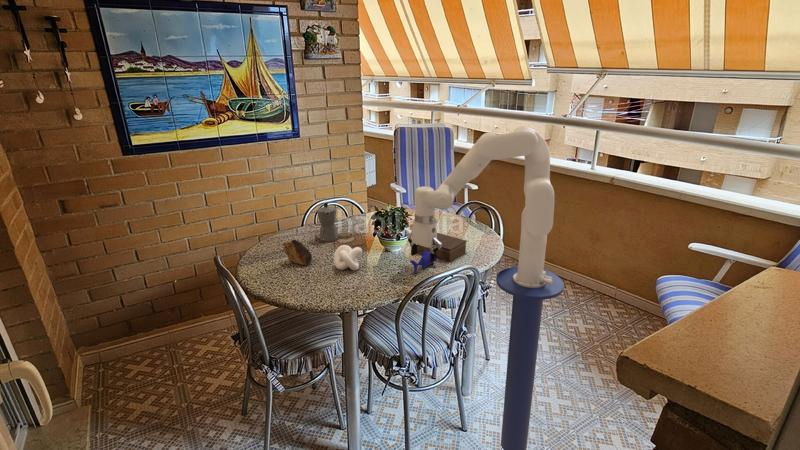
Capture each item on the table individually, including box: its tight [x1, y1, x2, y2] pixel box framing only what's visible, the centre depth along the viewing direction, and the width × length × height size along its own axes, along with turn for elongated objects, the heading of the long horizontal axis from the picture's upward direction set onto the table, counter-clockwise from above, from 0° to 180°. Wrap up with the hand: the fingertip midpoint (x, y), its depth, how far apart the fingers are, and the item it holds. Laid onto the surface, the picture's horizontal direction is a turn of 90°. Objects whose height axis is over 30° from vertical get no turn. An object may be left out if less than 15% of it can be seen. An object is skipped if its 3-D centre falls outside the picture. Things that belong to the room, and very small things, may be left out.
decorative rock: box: [282, 239, 313, 266], centre depth 173 cm, size 12×6×11 cm, turn 64°
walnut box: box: [416, 232, 468, 263], centre depth 181 cm, size 19×13×6 cm
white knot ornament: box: [333, 244, 363, 271], centre depth 168 cm, size 11×12×9 cm
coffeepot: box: [316, 202, 339, 243], centre depth 199 cm, size 15×9×18 cm, turn 15°
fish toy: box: [409, 250, 439, 275], centre depth 167 cm, size 15×8×7 cm, turn 138°
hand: (423, 257), depth 166 cm, fingers open, 9 cm apart
